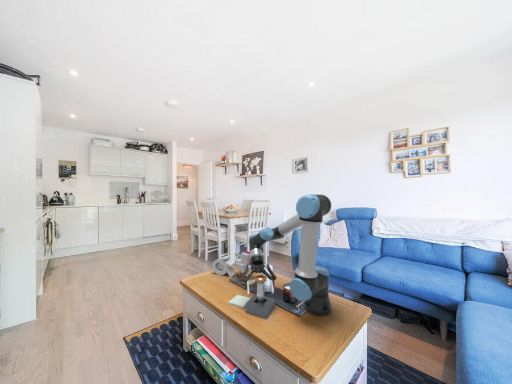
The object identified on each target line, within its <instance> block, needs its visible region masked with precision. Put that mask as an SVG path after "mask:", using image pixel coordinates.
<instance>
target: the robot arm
mask: <svg viewBox="0 0 512 384" xmlns="http://www.w3.org/2000/svg"><path fill="white" fill-rule="evenodd" d="M331 210H332V201H331V199H330V198H329V197H328V196H326V195H325V194H314V193H312V194H311V193H310V194H309V193H308V194H304V195H302V196H301V197H299V198H298V199H297V201H296V205H295V211H296V214H295V215H293V216H291V217H290V218H288V219H287V220H285V221H283V222H282V223H280V224H279V225H278V226H276V227H274V228H271V227H269V226H266V227H263V228H262V229H260V231H259V232H258V233H252V234H250V235H249V237H248V246H249V252H250V258H251V266H248V265H247V266H246V270H245V272H244V273H243V275H242V279H240V280H241V283H244V289H245V290H246V291H247V292H246V293H247V296H250V286H249V285H250V284H249V280H250V279H251V276H253V274H262V275H263V276H266V277H267V280H269V285H270V290H271V294H272V295H273V294H274V293H275V289H274V287H275V281H276V280H277V278H278V277H277V275H276V274H275V273H274V271H273V270H272V268H271V267H270V263H267V264H264V258H263V249H262V247H263V245H265V244H266V243H267V242H271V241H276V240H281V239H284V238H285V237H286V235H288V234H290V233H291V232H293V231H295V230H298V229H299V228H300V227H301V228H300V241H299V251H298V252H299V253H298V264H297V265H298V267H297V268H296V269H295V270H294V277H293V278H292V279H291V280H290V282H289V290H290V292H291V294H292V295H293V297H294V298H295V299H296V300H298V301H300V302H303V308H304V307H305V308H306V309H307V310H306V309H305V308H304V309H305V310H306V312H308V313H310V314H312V315H315V316H328V315H330V314H331V313H332V302H331V300H330V297H329V293H330V291H329V289H330V287H329V286H330V271H329V269H328V268H326V267H323V266H320V265H316V263H317V252H318V251H317V250H318V243H319V241H318V239H319V229H320V225H321V224H323V220H324V219H323V218H324V216H327V215H328V214H329V213H330V212H331ZM250 268H251V269H252V271H250V273H249V272H248V270H249V269H250ZM267 271H268V272H267ZM246 274H249V275H248V276H246ZM245 278H246V279H245Z"/></svg>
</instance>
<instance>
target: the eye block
mask: <svg viewBox="0 0 512 384" xmlns="http://www.w3.org/2000/svg"><path fill="white" fill-rule="evenodd" d="M250 298H251V299H250V300H249V301H248V302H247V303H246V306H245V313H246V314H249V315H253V316H255V317H259V318H262V319H264V320H266V319H267V318H268V317H269V315H270V314H271V313H272V311H273V310H274V308H275V298H273V297H269V296H266V295H264V304H263V305H262V304H258V303H257V293H254V295H252V297H250Z"/></svg>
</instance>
